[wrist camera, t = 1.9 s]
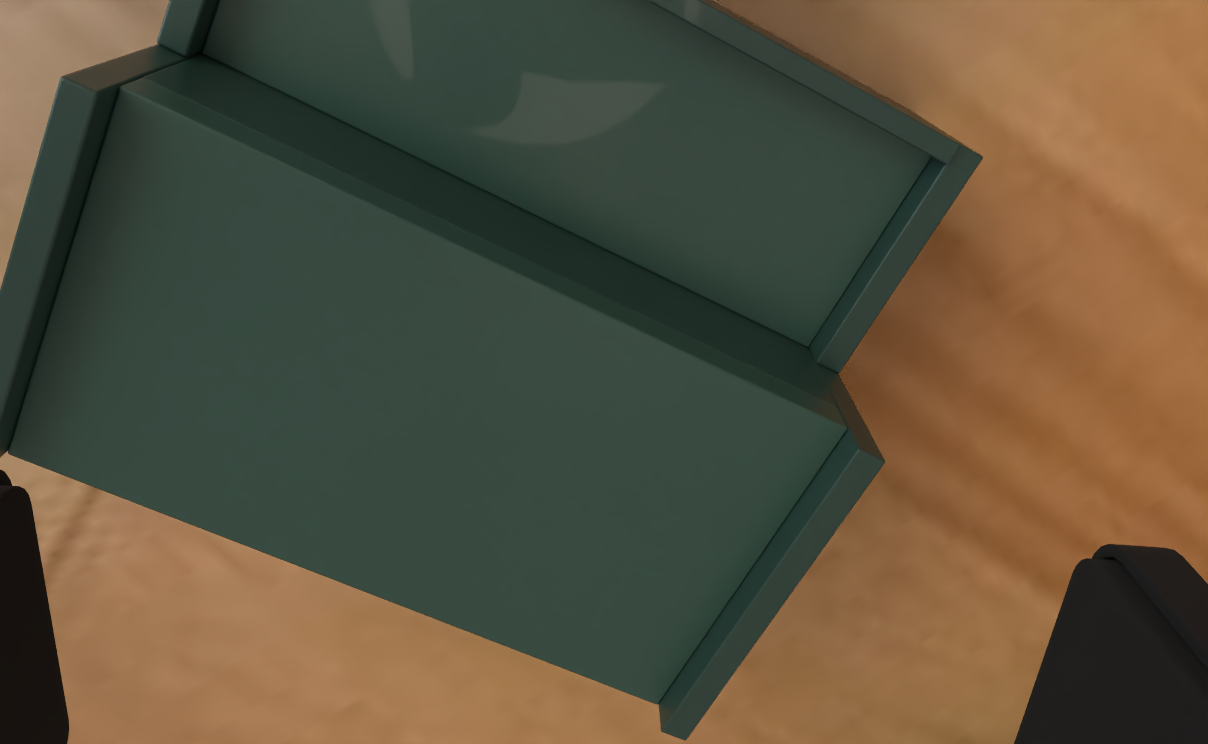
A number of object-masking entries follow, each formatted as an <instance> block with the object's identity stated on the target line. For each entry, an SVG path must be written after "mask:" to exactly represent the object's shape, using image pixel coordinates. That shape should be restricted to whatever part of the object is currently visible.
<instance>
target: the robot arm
mask: <svg viewBox="0 0 1208 744" xmlns="http://www.w3.org/2000/svg"><path fill="white" fill-rule="evenodd" d="M68 734H69V719H68V713H67V707H66V701H65V696H64V690H63V684H62V678H61V673H60V667H59V661H58V655H57V649H56V644H55V638H54V632H53V626H52V620H51V615H50V609H49V603H48V597H47V591H46V586H45V580H44V574H43V568H42V563H41V557H40V551H39V545H38V539H37V534H36V528H35V522H34V516H33V510H32V505H31V501H30V497H29V495H28V493H27V492H26V490H25V489H23V488H22V487H20V486H12V484H11V480H10V479H9V477H8V476H7V474H6V473H5V472H4V471H2V470H0V744H67V741H68ZM1014 744H1208V584H1207V583H1206V582H1205V581H1204V579H1203V578H1202V577H1201V576H1200V575H1199V574H1198V573H1197V572H1196V571H1195V570H1194V568H1193V567H1192V566H1191V565H1190V564H1189V563H1188V562H1187V561H1186V560H1185V559H1184V557H1183V556H1181V555H1180V554H1179V553H1178V552H1176V551H1175V550H1172V549H1168V548H1159V547H1145V546H1130V545H1116V544H1107V545H1104V546H1102V547H1100V548H1099V549H1098V550H1097V551H1096V552H1095V553H1094V555H1093V557H1092V559H1088V558H1087V559H1084V560H1081V561H1080V562H1079V563H1078V564H1077V565H1076V567H1075V569H1074V571H1073V574H1072V576H1071V579H1070V582H1069V585H1068V588H1067V591H1066V594H1065V597H1064V600H1063V603H1062V606H1061V609H1060V611H1059V614H1058V617H1057V620H1056V623H1055V626H1054V629H1053V632H1052V635H1051V638H1050V641H1049V644H1048V646H1047V649H1046V652H1045V655H1044V658H1043V661H1042V664H1041V667H1040V670H1039V673H1038V676H1037V679H1036V681H1035V684H1034V687H1033V690H1032V693H1031V696H1030V699H1029V702H1028V705H1027V708H1026V711H1025V714H1024V716H1023V719H1022V722H1021V725H1020V728H1019V731H1018V734H1017V737H1016V740H1015V743H1014Z"/></svg>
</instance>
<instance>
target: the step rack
mask: <svg viewBox="0 0 1208 744" xmlns="http://www.w3.org/2000/svg"><path fill="white" fill-rule="evenodd" d="M157 43H158V45H155V46H152V47H149V48H146V49H143V50H140V51H137V52H134V53H131V54H128V55H125V56H122V57H119V58H115V59H112V60H109V61H106V62H103V63H100V64H97V65H94V66H91V67H88V68H85V69H82V70H79V71H76V72H73V73H70V74H67V75H64V76H62V77H61V78H60V81H59V84H58V88H57V91H56V95H55V98H54V102H53V105H52V109H51V112H50V116H49V120H48V123H47V127H46V130H45V134H44V137H43V141H42V144H41V148H40V151H39V155H38V158H37V162H36V166H35V169H34V173H33V176H32V180H31V183H30V187H29V190H28V194H27V197H26V201H25V204H24V208H23V212H22V215H21V219H20V222H19V226H18V229H17V233H16V236H15V240H14V243H13V247H12V250H11V254H10V258H9V261H8V265H7V268H6V272H5V275H4V279H3V282H2V286H1V289H0V457H1V456H2V455H4V454H5V453H6V452H7V451H8V454H10V455H12V456H15V457H18V458H20V459H23V460H25V461H28V462H30V463H33V464H36V465H38V466H41V467H43V468H46V469H49V470H51V471H54V472H56V473H59V474H62V475H64V476H67V477H69V478H72V479H74V480H77V481H80V482H82V483H85V484H87V485H90V486H93V487H95V488H98V489H100V490H103V491H106V492H108V493H111V494H113V495H116V496H119V497H121V498H124V499H126V500H129V501H131V502H134V503H137V504H139V505H142V506H144V507H147V508H150V509H152V510H155V511H157V512H160V513H163V514H165V515H168V516H170V517H173V518H175V519H178V520H181V521H183V522H186V523H188V524H191V525H194V526H196V527H199V528H201V529H204V530H207V531H209V532H212V533H214V534H217V535H219V536H222V537H225V538H227V539H230V540H232V541H235V542H238V543H240V544H243V545H245V546H248V547H251V548H253V549H256V550H258V551H261V552H263V553H266V554H269V555H271V556H274V557H276V558H279V559H282V560H284V561H287V562H289V563H292V564H295V565H297V566H300V567H302V568H305V569H307V570H310V571H313V572H315V573H318V574H320V575H323V576H326V577H328V578H331V579H333V580H336V581H339V582H341V583H344V584H346V585H349V586H351V587H354V588H357V589H359V590H362V591H364V592H367V593H370V594H372V595H375V596H377V597H380V598H383V599H385V600H388V601H390V602H393V603H395V604H398V605H401V606H403V607H406V608H408V609H411V610H414V611H416V612H419V613H421V614H424V615H427V616H429V617H432V618H434V619H437V620H439V621H442V622H445V623H447V624H450V625H452V626H455V627H458V628H460V629H463V630H465V631H468V632H471V633H473V634H476V635H478V636H481V637H483V638H486V639H489V640H491V641H494V642H496V643H499V644H502V645H504V646H507V647H509V648H512V649H515V650H517V651H520V652H522V653H525V654H527V655H530V656H533V657H535V658H538V659H540V660H543V661H546V662H548V663H551V664H553V665H556V666H559V667H561V668H564V669H566V670H569V671H571V672H574V673H577V674H579V675H582V676H584V677H587V678H590V679H592V680H595V681H597V682H600V683H603V684H605V685H608V686H610V687H613V688H615V689H618V690H621V691H623V692H626V693H628V694H631V695H634V696H636V697H639V698H641V699H644V700H647V701H649V702H652V703H654V704H659V712H660V723H661V731H662V732H664V733H667V734H669V735H672V736H674V737H677V738H680V739H682V740H686V739H687V738H688V737H689V735H690V734H691V732H692V731H693V730H694V728H695V727H696V725H697V724H698V723H699V721H700V720H701V718H702V717H703V716H704V714H705V713H706V711H707V710H708V709H709V707H710V706H711V705H712V703H713V702H714V700H715V699H716V698H717V696H718V695H719V693H720V692H721V691H722V689H723V688H724V686H725V685H726V684H727V682H728V681H729V679H730V678H731V677H732V675H733V674H734V672H735V671H736V670H737V668H738V667H739V665H740V664H741V663H742V661H743V660H744V658H745V657H746V656H747V654H748V653H749V651H750V650H751V649H752V647H753V646H754V644H755V643H756V642H757V640H758V639H759V637H760V636H761V635H762V633H763V632H764V631H765V629H766V628H767V626H768V625H769V624H770V622H771V621H772V619H773V618H774V617H775V615H776V614H777V612H778V611H779V610H780V608H781V607H782V605H783V604H784V603H785V601H786V600H787V598H788V597H789V596H790V594H791V593H792V591H793V590H794V589H795V587H796V586H797V584H798V583H799V582H800V580H801V579H802V577H803V576H804V575H805V573H806V572H807V570H808V569H809V568H810V566H811V565H812V563H813V562H814V561H815V559H816V558H817V557H818V555H819V554H820V552H821V551H822V550H823V548H824V547H825V545H826V544H827V543H828V541H829V540H830V538H831V537H832V536H833V534H834V533H835V531H836V530H837V529H838V527H839V526H840V524H841V523H842V522H843V520H844V519H845V517H846V516H847V515H848V513H849V512H850V510H851V509H852V508H853V506H854V505H855V503H856V502H857V501H858V499H859V498H860V496H861V495H862V494H863V492H864V491H865V489H866V488H867V487H868V485H869V484H870V483H871V481H872V480H873V478H874V477H875V476H876V474H877V473H878V471H879V470H880V469H881V467H882V466H883V464H884V463H885V460H884V458H883V456H882V454H881V452H880V450H879V449H878V447H877V445H876V443H875V441H874V439H873V438H872V436H871V434H870V432H869V430H868V428H867V426H866V425H865V423H864V421H863V419H862V417H861V415H860V413H859V412H858V410H857V408H856V406H855V404H854V402H853V400H852V399H851V397H850V395H849V393H848V391H847V389H846V387H845V386H844V384H843V382H842V380H841V378H840V376H839V374H838V373H840V371H841V370H842V368H843V367H844V365H845V364H846V362H847V361H848V359H849V358H850V356H851V355H852V353H853V352H854V350H855V349H856V347H857V346H858V344H859V343H860V341H861V340H862V338H863V337H864V335H865V334H866V332H867V331H868V329H869V328H870V326H871V325H872V323H873V322H874V320H875V319H876V317H877V316H878V314H879V313H880V311H881V310H882V308H883V307H884V305H885V304H886V302H887V301H888V299H889V298H890V296H891V295H892V293H893V292H894V290H895V289H896V287H897V286H898V284H899V283H900V281H901V280H902V278H903V277H904V275H905V274H906V272H907V271H908V269H909V268H910V266H911V265H912V263H913V262H914V260H915V259H916V257H917V256H918V254H919V253H920V251H921V250H922V248H923V247H924V245H925V244H926V242H927V241H928V239H929V238H930V236H931V235H932V233H933V232H934V230H935V229H936V227H937V226H938V224H939V223H940V221H941V220H942V218H943V217H944V215H945V214H946V212H947V211H948V209H949V208H950V206H951V205H952V203H953V202H954V200H955V199H956V197H957V196H958V194H959V193H960V191H961V190H962V188H963V187H964V185H965V184H966V182H967V181H968V179H969V178H970V176H971V175H972V173H973V172H974V170H975V169H976V167H977V166H978V164H979V163H980V161H981V160H982V158H983V157H982V156H981V155H980V154H978V153H977V152H975V151H973V150H972V149H970V148H969V147H967V146H966V145H964V144H962V143H961V142H959V141H958V140H956V139H955V138H953V137H951V136H950V135H948V134H947V133H945V132H944V131H942V130H940V129H939V128H937V127H936V126H934V125H933V124H931V123H929V122H928V121H926V120H925V119H923V118H922V117H920V116H918V115H917V114H915V113H913V112H912V111H910V110H908V109H906V108H904V107H903V106H901V105H899V104H897V103H895V102H894V101H892V100H890V99H888V98H887V97H885V96H883V95H881V94H879V93H878V92H876V91H874V90H872V89H870V88H869V87H867V86H865V85H863V84H861V83H860V82H858V81H856V80H854V79H852V78H851V77H849V76H847V75H845V74H843V73H842V72H840V71H838V70H836V69H834V68H833V67H831V66H829V65H827V64H825V63H824V62H822V61H820V60H818V59H816V58H815V57H813V56H811V55H809V54H807V53H806V52H804V51H802V50H800V49H798V48H797V47H795V46H793V45H791V44H789V43H788V42H786V41H784V40H782V39H780V38H779V37H777V36H775V35H773V34H771V33H770V32H768V31H766V30H764V29H762V28H761V27H759V26H757V25H755V24H753V23H752V22H750V21H748V20H746V19H744V18H743V17H741V16H739V15H737V14H735V13H734V12H732V11H730V10H728V9H726V8H725V7H723V6H721V5H719V4H717V3H716V2H714V1H712V0H170V1H169V4H168V7H167V10H166V14H165V17H164V20H163V23H162V26H161V29H160V32H159V36H158V39H157Z"/></svg>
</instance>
